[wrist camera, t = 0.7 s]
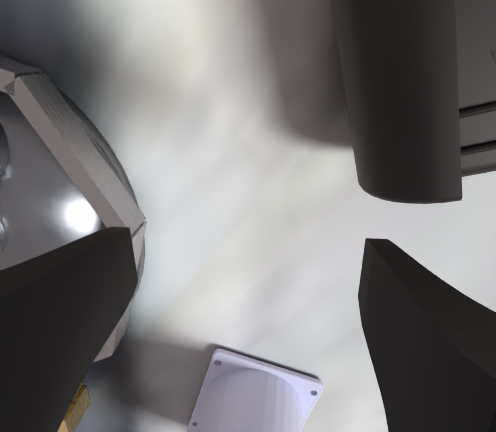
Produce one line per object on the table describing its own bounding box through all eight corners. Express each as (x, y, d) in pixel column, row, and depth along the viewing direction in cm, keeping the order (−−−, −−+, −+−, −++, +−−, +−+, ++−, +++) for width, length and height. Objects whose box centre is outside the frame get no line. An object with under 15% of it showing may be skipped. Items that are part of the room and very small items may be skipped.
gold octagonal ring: (93, 417, 31) (74, 452, 29) (32, 408, 32) (8, 443, 29) (82, 369, 29) (60, 403, 26) (17, 361, 30) (-11, 394, 27)
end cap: (314, -58, 16) (323, -118, 10) (498, -121, 14) (644, -237, 8) (349, 163, 20) (371, 219, 14) (497, 133, 18) (596, 180, 12)
